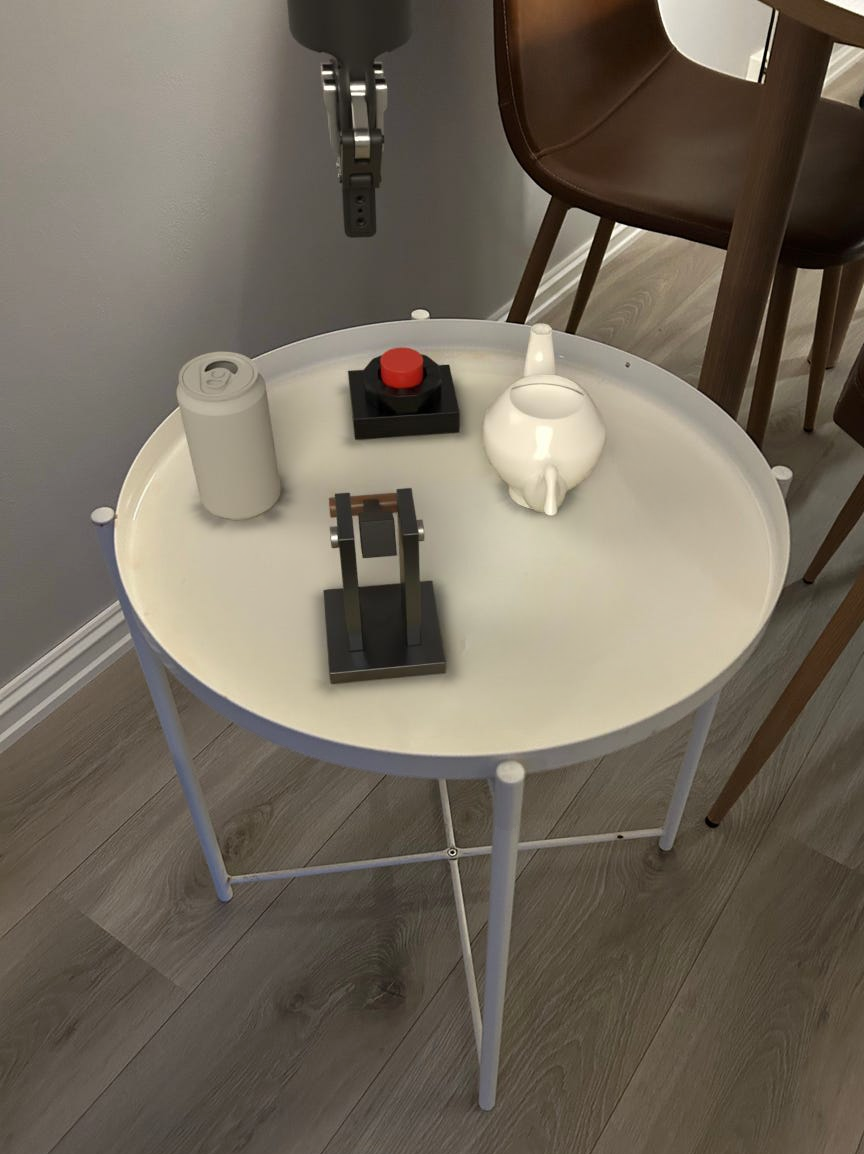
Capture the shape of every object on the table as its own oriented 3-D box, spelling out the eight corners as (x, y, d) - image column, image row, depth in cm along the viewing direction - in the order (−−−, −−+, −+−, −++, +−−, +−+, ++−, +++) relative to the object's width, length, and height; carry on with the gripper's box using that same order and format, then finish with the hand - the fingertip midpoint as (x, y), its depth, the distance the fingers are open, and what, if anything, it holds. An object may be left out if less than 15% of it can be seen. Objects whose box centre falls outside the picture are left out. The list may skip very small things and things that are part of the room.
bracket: (324, 600, 79) (309, 476, 70) (432, 591, 80) (431, 467, 71) (330, 684, 74) (315, 562, 65) (445, 673, 75) (446, 551, 66)
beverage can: (289, 476, 88) (272, 350, 79) (271, 529, 84) (251, 403, 75) (213, 469, 88) (187, 343, 79) (191, 522, 84) (161, 395, 75)
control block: (354, 440, 91) (351, 401, 88) (349, 391, 96) (346, 352, 93) (459, 432, 92) (460, 394, 89) (449, 384, 97) (449, 346, 94)
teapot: (480, 576, 81) (484, 481, 74) (479, 414, 94) (482, 321, 87) (607, 578, 81) (622, 484, 74) (588, 416, 94) (599, 323, 87)
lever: (330, 521, 78) (327, 489, 77) (412, 515, 79) (410, 483, 78) (332, 561, 68) (328, 524, 67) (426, 553, 69) (424, 516, 68)
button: (383, 390, 90) (382, 373, 89) (379, 366, 92) (378, 348, 91) (425, 388, 90) (425, 370, 89) (421, 363, 93) (420, 346, 91)
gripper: (279, -85, 66) (301, 190, 79) (287, -13, 57) (310, 283, 70) (400, -84, 67) (403, 187, 80) (426, -13, 58) (424, 278, 71)
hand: (360, 232), depth 75 cm, fingers closed
